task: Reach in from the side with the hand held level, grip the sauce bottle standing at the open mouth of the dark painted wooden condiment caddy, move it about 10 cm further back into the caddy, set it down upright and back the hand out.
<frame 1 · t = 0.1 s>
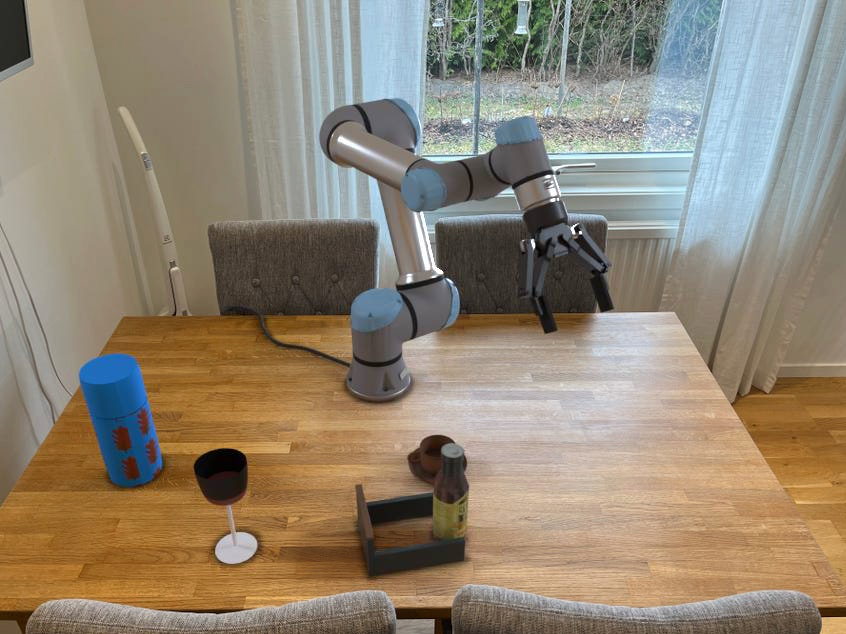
hand: (580, 321, 126), 36 cm above the table, tool tilted 35°, fingers open, 13 cm apart
cup and saucer: (437, 470, 147), on the table
sauce bottle: (449, 535, 132), on the table
caddy: (395, 543, 130), on the table
wineglass: (236, 548, 130), on the table
thermos: (136, 470, 148), on the table
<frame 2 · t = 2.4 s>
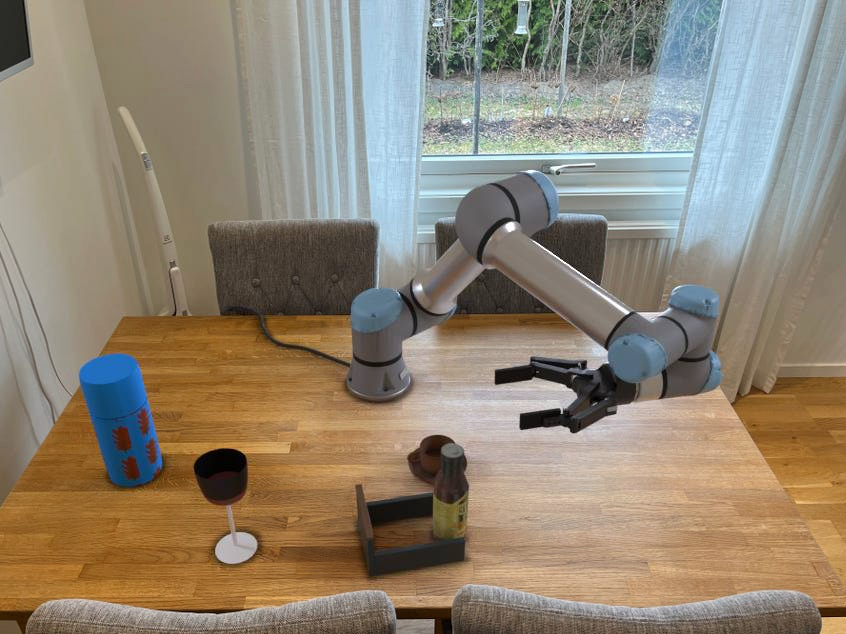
hand: (506, 398, 119), 29 cm above the table, tool horizontal, fingers open, 13 cm apart
nothing on the table moved.
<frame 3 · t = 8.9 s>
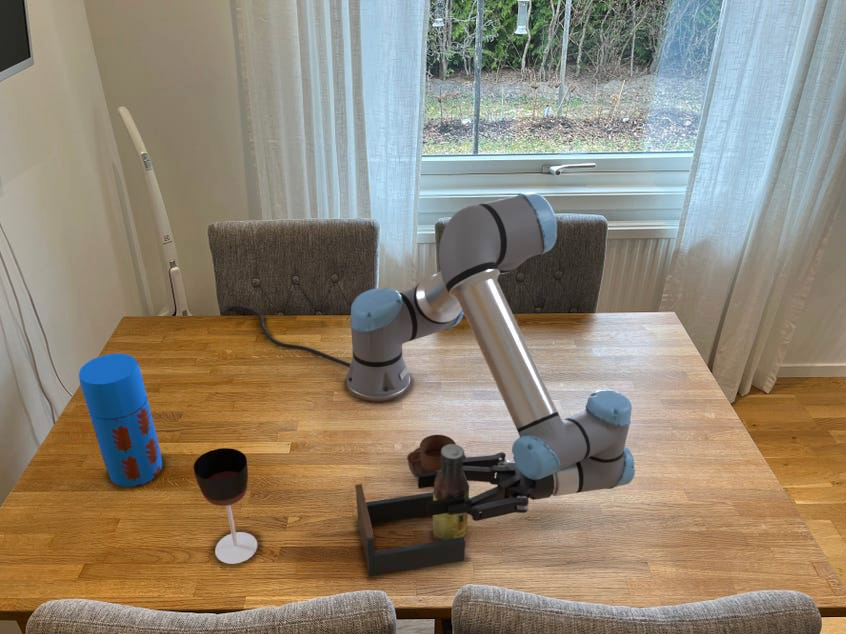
hand: (423, 495, 125), 11 cm above the table, tool horizontal, fingers closed on sauce bottle, 6 cm apart
sauce bottle: (449, 535, 132), on the table, touching gripper
everything else where it was.
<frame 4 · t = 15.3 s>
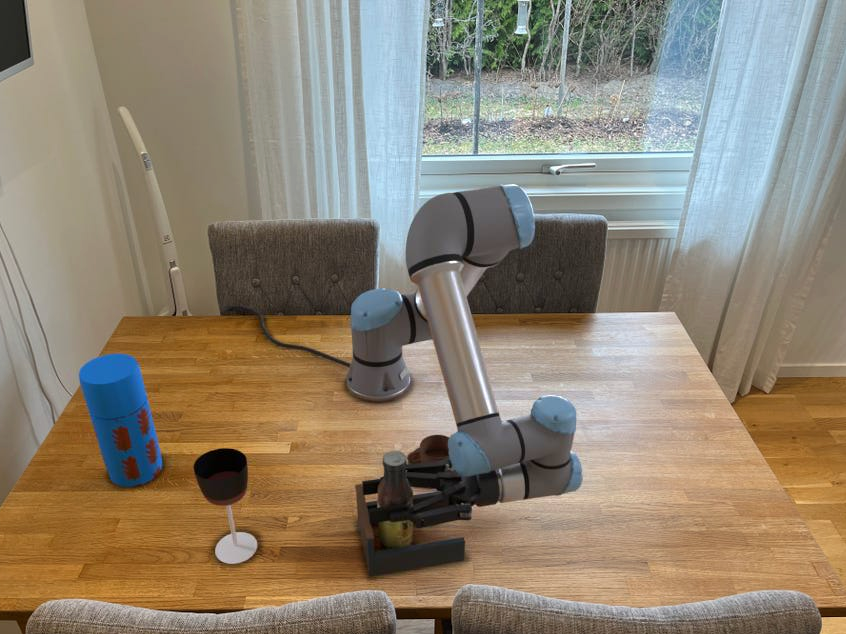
hand: (366, 502, 123), 11 cm above the table, tool horizontal, fingers closed on sauce bottle, 6 cm apart
sauce bottle: (395, 542, 130), on the table, touching gripper
everything else where it was.
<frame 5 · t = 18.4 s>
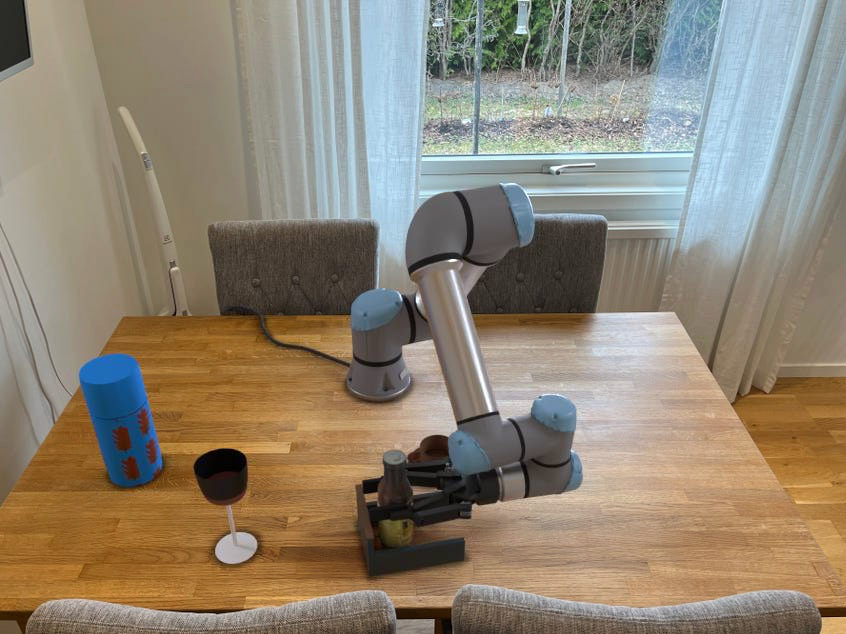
hand: (366, 501, 123), 12 cm above the table, tool horizontal, fingers closed on sauce bottle, 6 cm apart
sauce bottle: (396, 541, 130), on the table, touching gripper
everything else where it was.
when the fingers open (12 cm above the table, at t = 21.5 s): sauce bottle drops 1 cm, on the table.
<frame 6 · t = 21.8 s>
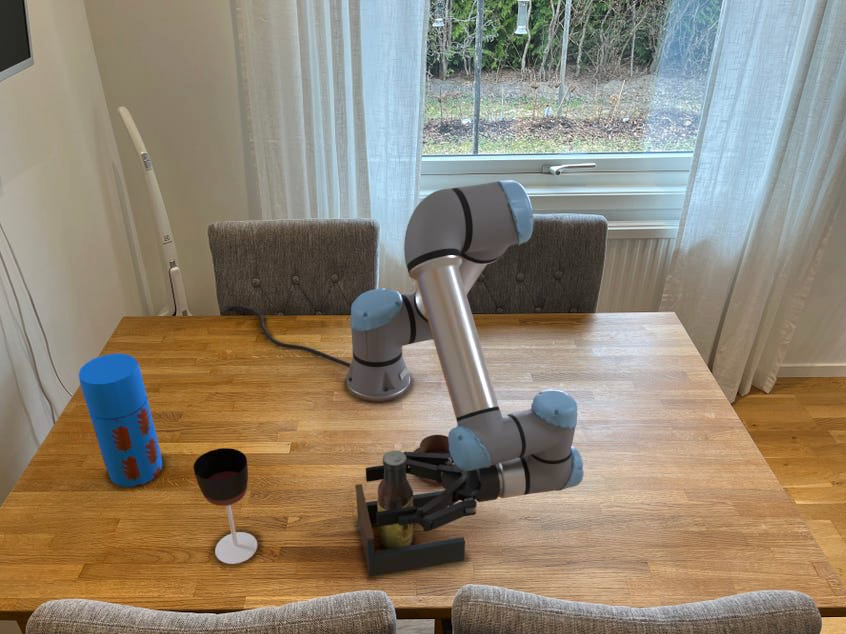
hand: (371, 496, 123), 12 cm above the table, tool horizontal, fingers open, 10 cm apart
sauce bottle: (396, 543, 131), on the table
everything else where it was.
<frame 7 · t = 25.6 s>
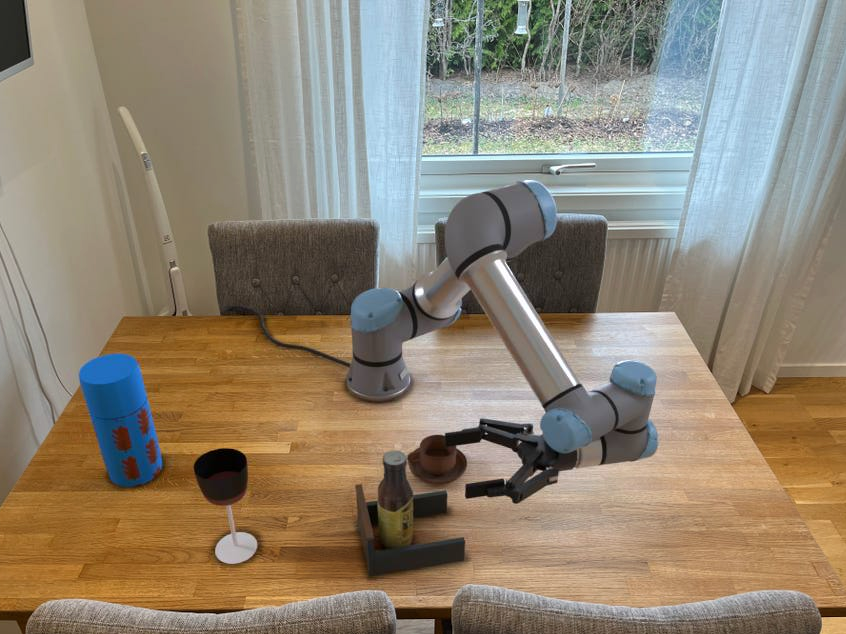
hand: (454, 464, 124), 16 cm above the table, tool horizontal, fingers open, 13 cm apart
nothing on the table moved.
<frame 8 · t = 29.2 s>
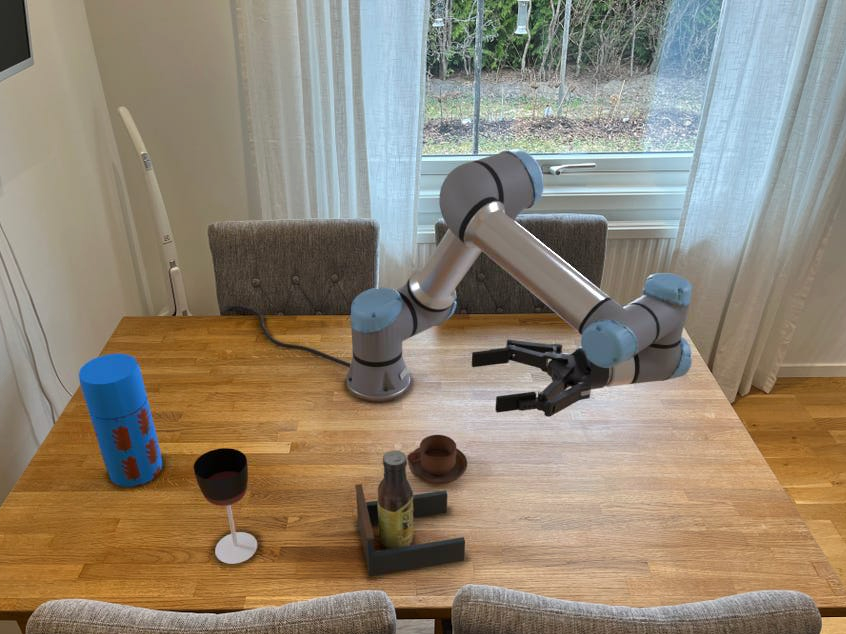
hand: (483, 381, 121), 30 cm above the table, tool horizontal, fingers open, 13 cm apart
nothing on the table moved.
at the end: sauce bottle 0.2 cm from the caddy (horizontally); sauce bottle tilted 0°; the gripper is holding nothing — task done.
